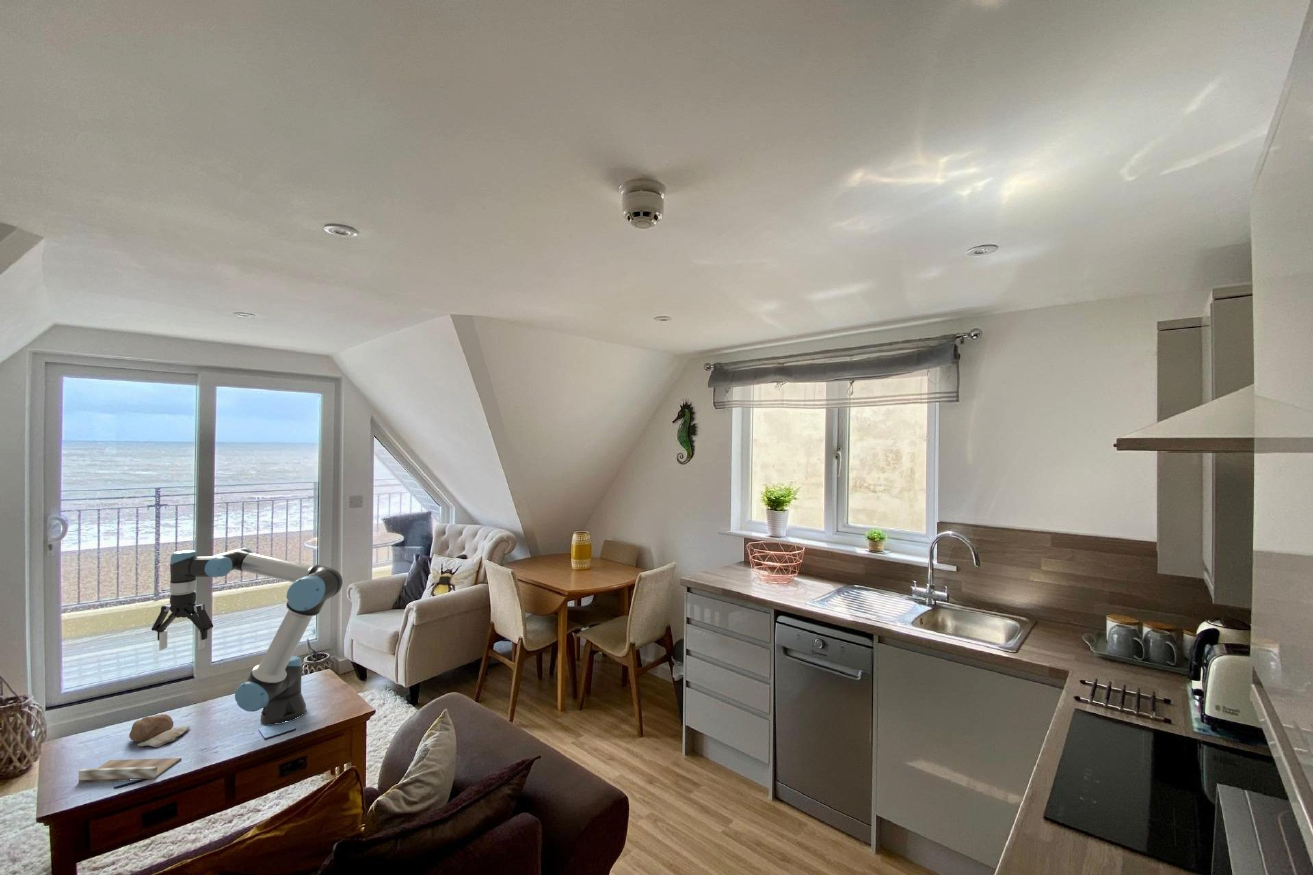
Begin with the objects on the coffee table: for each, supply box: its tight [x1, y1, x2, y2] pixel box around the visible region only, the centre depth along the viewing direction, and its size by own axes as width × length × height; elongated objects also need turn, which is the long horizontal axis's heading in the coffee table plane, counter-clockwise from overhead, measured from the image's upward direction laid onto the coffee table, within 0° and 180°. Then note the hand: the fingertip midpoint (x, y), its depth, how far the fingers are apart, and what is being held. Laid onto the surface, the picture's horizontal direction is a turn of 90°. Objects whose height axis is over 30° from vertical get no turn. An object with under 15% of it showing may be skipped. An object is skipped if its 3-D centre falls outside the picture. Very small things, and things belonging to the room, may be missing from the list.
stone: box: [128, 713, 174, 743], centre depth 204 cm, size 12×9×10 cm
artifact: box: [137, 724, 191, 748], centre depth 203 cm, size 9×3×15 cm
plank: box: [78, 757, 182, 784], centre depth 182 cm, size 23×11×4 cm, turn 94°
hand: (182, 648), depth 206 cm, fingers open, 13 cm apart
